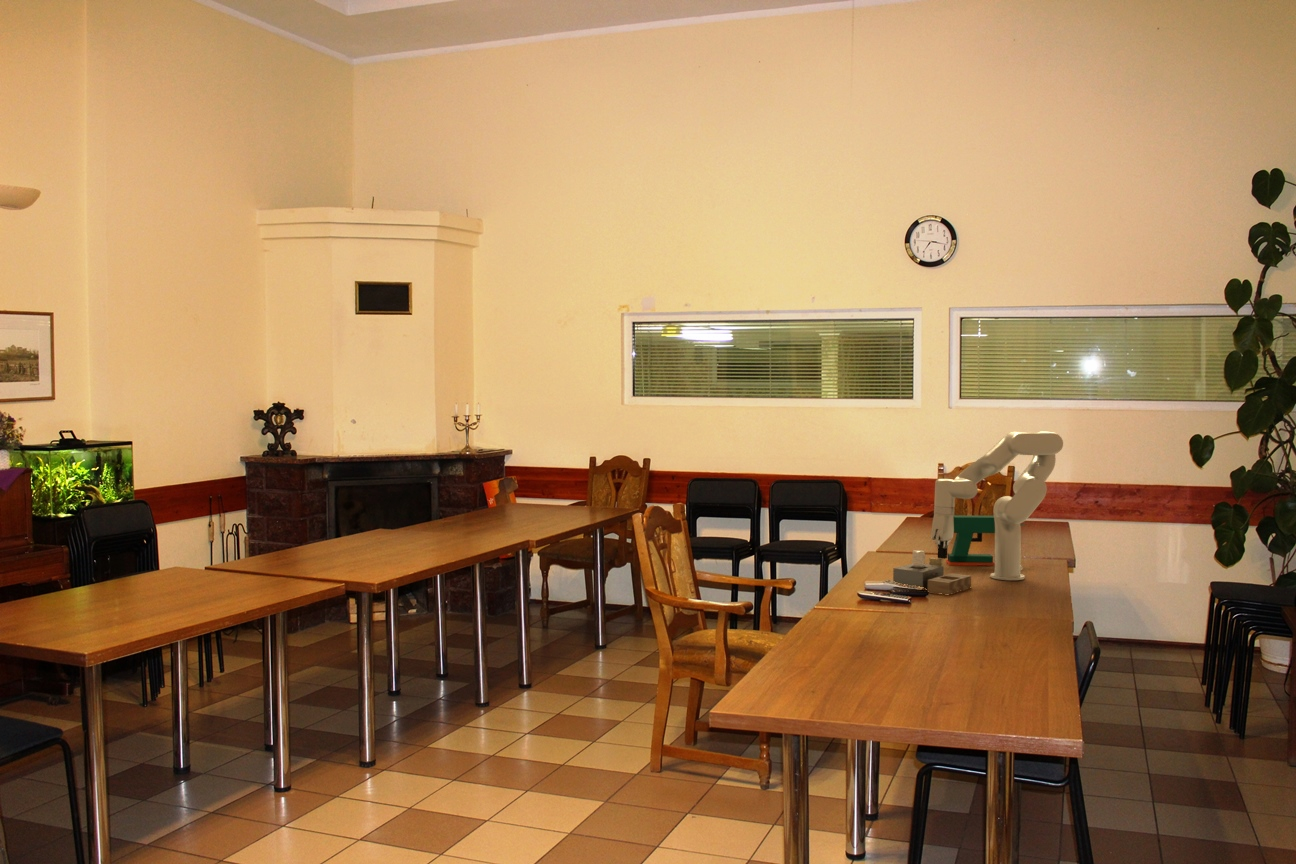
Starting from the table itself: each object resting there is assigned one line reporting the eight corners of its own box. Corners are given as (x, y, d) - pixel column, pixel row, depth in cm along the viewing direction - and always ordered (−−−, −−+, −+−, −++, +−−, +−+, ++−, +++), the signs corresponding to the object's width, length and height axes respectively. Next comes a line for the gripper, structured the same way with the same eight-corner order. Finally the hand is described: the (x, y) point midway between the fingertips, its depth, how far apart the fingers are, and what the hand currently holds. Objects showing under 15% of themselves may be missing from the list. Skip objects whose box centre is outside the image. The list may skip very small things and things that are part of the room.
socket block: (914, 580, 406) (914, 562, 405) (943, 584, 398) (943, 566, 397) (893, 586, 394) (893, 568, 394) (922, 591, 386) (922, 571, 385)
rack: (950, 585, 397) (950, 573, 396) (971, 588, 391) (971, 575, 391) (927, 592, 383) (927, 580, 383) (948, 595, 378) (948, 582, 378)
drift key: (931, 575, 408) (931, 557, 408) (943, 577, 405) (943, 559, 404) (921, 578, 403) (921, 560, 402) (933, 580, 399) (933, 561, 399)
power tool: (1023, 563, 445) (1024, 515, 444) (1028, 566, 438) (1028, 517, 437) (945, 562, 448) (946, 515, 447) (949, 565, 441) (949, 517, 440)
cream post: (916, 584, 399) (916, 549, 398) (926, 585, 396) (926, 551, 395) (910, 586, 396) (910, 551, 395) (920, 587, 393) (921, 552, 392)
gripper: (944, 508, 418) (942, 555, 418) (926, 511, 407) (924, 558, 407) (962, 510, 413) (960, 557, 413) (944, 513, 402) (942, 561, 402)
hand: (942, 558), depth 410 cm, fingers closed
